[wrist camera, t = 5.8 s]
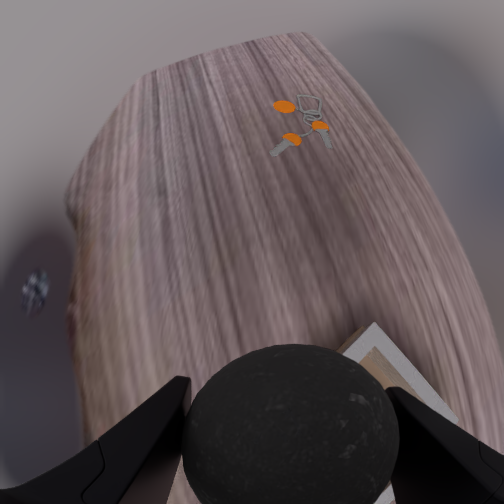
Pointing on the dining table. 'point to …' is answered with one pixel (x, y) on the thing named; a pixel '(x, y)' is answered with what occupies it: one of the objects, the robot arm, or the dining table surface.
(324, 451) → the light bulb
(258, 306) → the dining table surface
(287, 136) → the key chain
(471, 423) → the dining table surface
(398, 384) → the socket collar
